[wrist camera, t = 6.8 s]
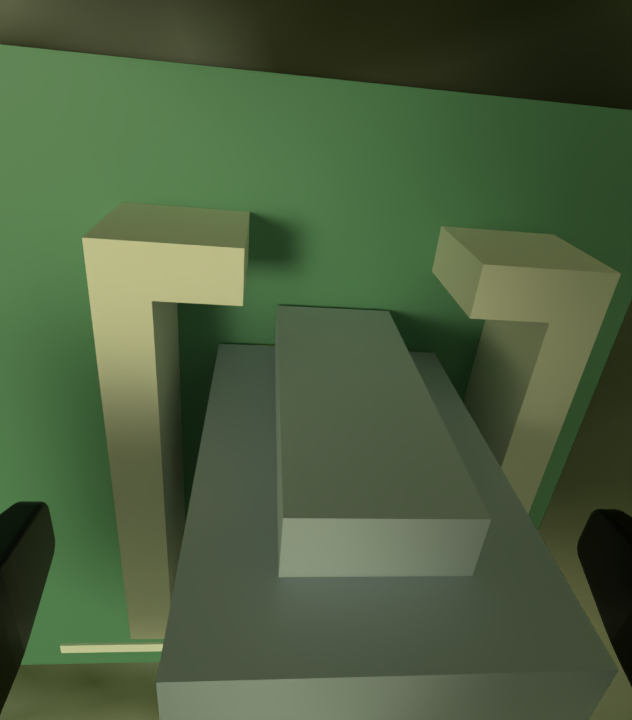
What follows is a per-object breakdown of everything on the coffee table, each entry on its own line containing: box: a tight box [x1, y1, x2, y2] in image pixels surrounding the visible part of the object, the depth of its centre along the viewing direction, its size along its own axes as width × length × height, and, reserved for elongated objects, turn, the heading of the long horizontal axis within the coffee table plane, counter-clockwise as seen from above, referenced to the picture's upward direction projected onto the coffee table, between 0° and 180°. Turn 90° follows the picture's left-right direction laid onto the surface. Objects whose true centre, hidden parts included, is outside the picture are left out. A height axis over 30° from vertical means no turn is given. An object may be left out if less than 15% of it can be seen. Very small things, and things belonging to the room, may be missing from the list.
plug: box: [156, 306, 618, 720], centre depth 8 cm, size 5×4×6 cm
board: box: [0, 44, 632, 665], centre depth 11 cm, size 14×13×3 cm
